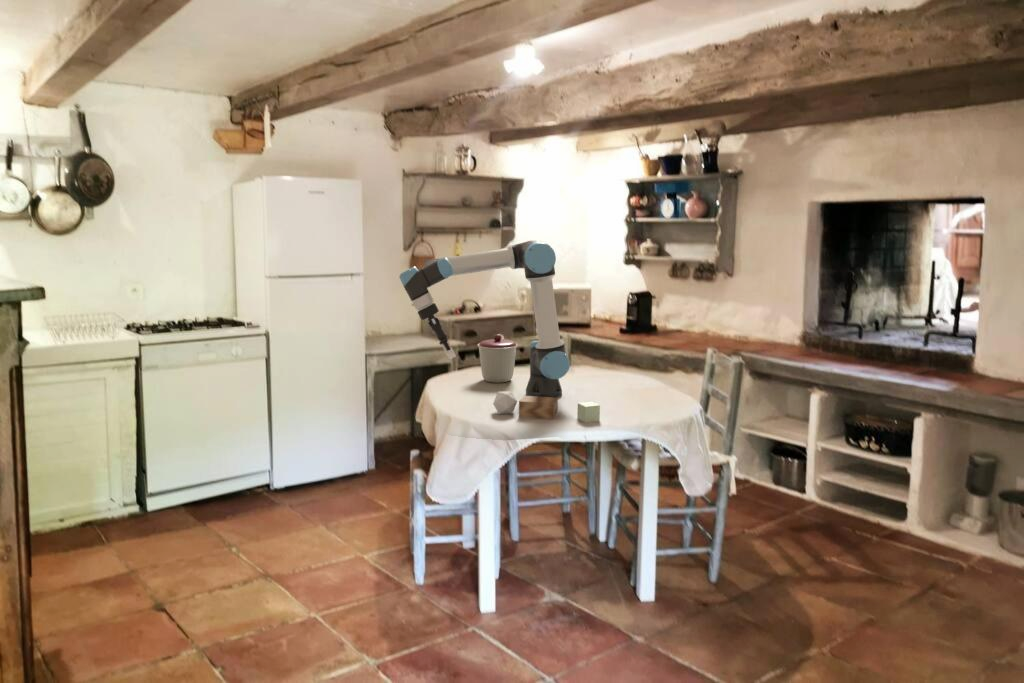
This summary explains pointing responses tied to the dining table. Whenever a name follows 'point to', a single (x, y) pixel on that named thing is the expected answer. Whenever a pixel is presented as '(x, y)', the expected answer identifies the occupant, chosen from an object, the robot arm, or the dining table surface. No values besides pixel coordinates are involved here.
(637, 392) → the dining table surface
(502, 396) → the die
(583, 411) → the green cube
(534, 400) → the plinth
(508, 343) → the canister
